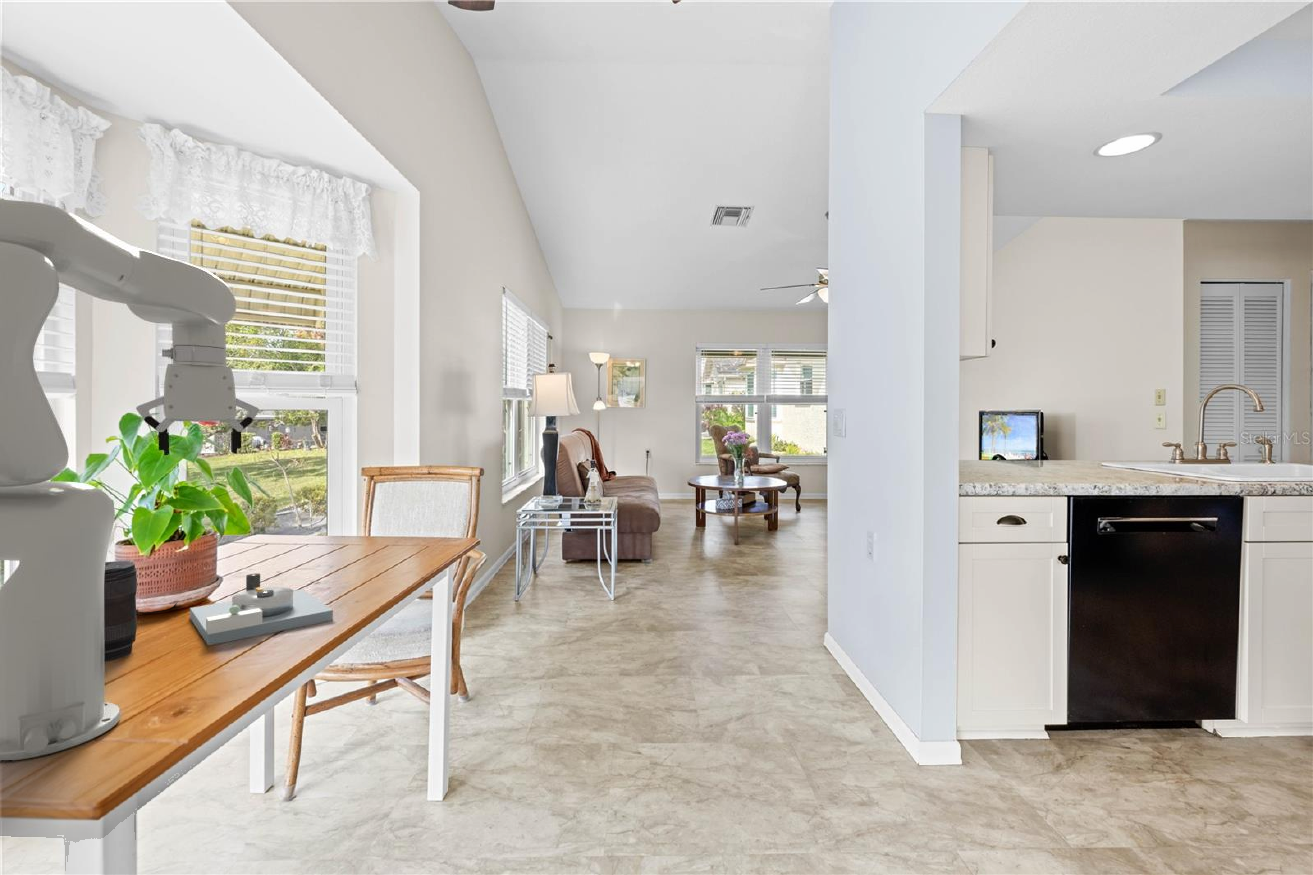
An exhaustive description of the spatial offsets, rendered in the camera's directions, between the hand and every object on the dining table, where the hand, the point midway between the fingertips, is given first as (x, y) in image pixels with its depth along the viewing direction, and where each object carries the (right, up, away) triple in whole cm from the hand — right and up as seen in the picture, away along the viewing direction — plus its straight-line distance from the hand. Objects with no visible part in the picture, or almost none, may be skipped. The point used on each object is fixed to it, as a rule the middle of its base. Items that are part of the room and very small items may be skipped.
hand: (201, 453), depth 106 cm
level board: (+3, -33, +12) cm, 35 cm away
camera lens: (-10, -34, -8) cm, 36 cm away
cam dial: (+3, -31, +12) cm, 33 cm away
